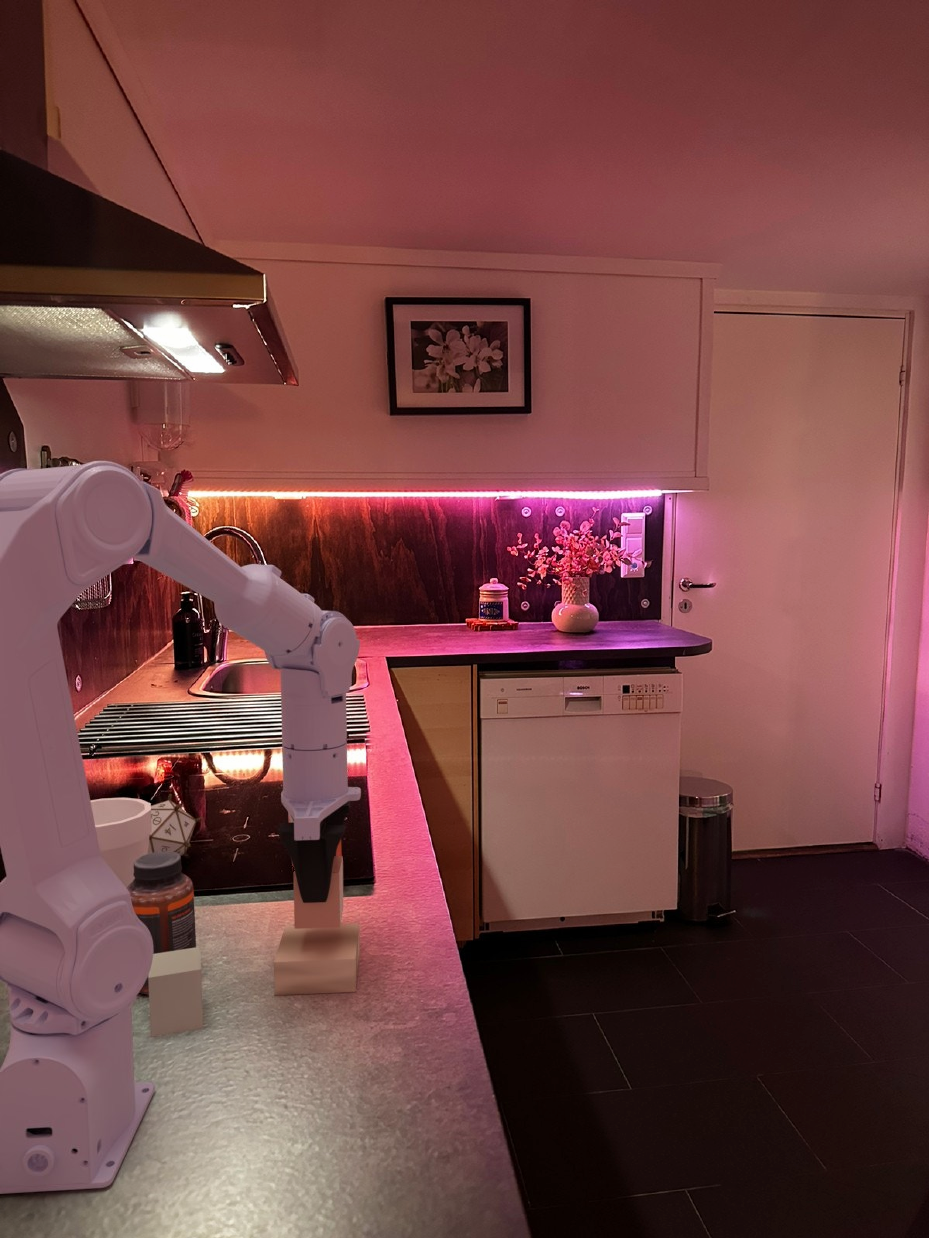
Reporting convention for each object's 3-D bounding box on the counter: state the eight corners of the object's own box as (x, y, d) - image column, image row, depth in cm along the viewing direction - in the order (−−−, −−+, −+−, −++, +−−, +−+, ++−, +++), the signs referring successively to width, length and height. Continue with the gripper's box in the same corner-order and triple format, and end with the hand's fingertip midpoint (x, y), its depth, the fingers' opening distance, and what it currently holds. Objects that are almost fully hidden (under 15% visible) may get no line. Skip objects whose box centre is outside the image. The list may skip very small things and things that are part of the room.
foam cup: (165, 915, 88) (160, 795, 86) (144, 957, 78) (139, 824, 77) (70, 921, 86) (64, 800, 85) (38, 965, 77) (32, 830, 76)
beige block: (203, 1027, 67) (201, 969, 66) (150, 1037, 66) (148, 977, 65) (201, 1002, 71) (199, 946, 70) (152, 1011, 69) (149, 954, 69)
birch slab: (355, 991, 72) (354, 958, 72) (274, 995, 72) (273, 962, 71) (359, 952, 79) (359, 922, 79) (286, 955, 79) (285, 925, 78)
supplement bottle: (205, 962, 77) (201, 845, 76) (186, 997, 71) (181, 870, 70) (141, 964, 77) (136, 846, 76) (116, 998, 71) (111, 872, 70)
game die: (180, 892, 102) (213, 838, 98) (110, 882, 98) (141, 825, 94) (181, 837, 109) (211, 785, 106) (115, 825, 105) (145, 770, 101)
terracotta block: (340, 927, 73) (339, 872, 73) (294, 928, 73) (293, 873, 72) (343, 907, 77) (342, 855, 77) (300, 908, 77) (299, 856, 76)
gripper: (354, 763, 67) (357, 924, 68) (363, 725, 81) (365, 858, 82) (266, 765, 66) (270, 927, 67) (291, 726, 81) (294, 860, 82)
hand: (317, 890), depth 75 cm, fingers closed on terracotta block, 4 cm apart
